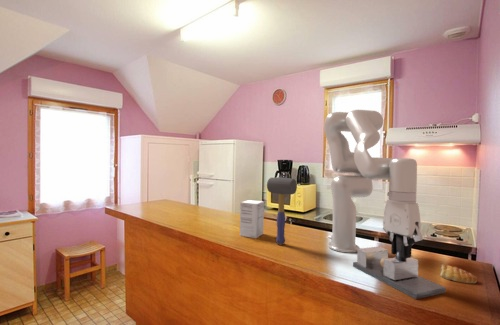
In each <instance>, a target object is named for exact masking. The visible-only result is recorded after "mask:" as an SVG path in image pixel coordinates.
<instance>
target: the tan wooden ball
mask: <svg viewBox="0 0 500 325" xmlns="http://www.w3.org/2000/svg"><path fill="white" fill-rule="evenodd" d="M388 258H389V257H388ZM388 258H383V259H381V261H380V265H381V267H382V268H383V269H384V259H388Z"/></svg>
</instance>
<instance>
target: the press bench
mask: <svg viewBox="0 0 500 325" xmlns="http://www.w3.org/2000/svg"><path fill="white" fill-rule="evenodd" d="M356 253H357V258H356V261H352V267H353V268H355V269H357V270H359V271H361V272H362V273H365V274H366V275H369V276H371V278H374V279H375V280H378V281H380V282H382V283H384V284H386V285H388V286H389V287H392V288H394V289H395V290H397V291H399V292H401V293H402V294H405V295H407V296H409V297H410V298H412V299H414V300H418V299H423V298H427V297H431V296H435V295H436V296H437V295H441V294H446V292H447V291H446V287H445V286H444V285H441V284H439V283H436V282H434V281H432V280H429V279H428V278H424V277H422V276H420V275H418V276H415V277H410V278H404V279H399V280H393V279H391V278H389V277H387V276H385V275H383V270H384V269H383V268H382V267H381V265H380V261H381V259H383V258H389V249H387V248H384V247H383V246H382V247H381V246H371V247H362V248H359V249H358V251H357V252H356Z"/></svg>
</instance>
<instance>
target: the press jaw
mask: <svg viewBox="0 0 500 325" xmlns="http://www.w3.org/2000/svg"><path fill="white" fill-rule="evenodd" d="M402 245H404V238H403V235H399V234H396V254H395V256H394V257H388V259H384V270H383V275H385V276H387V277H389V278H391V279H393V280H399V279H404V278H410V277H415V276H419V259H416V258H413V257H411V258H402Z"/></svg>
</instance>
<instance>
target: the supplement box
mask: <svg viewBox="0 0 500 325" xmlns="http://www.w3.org/2000/svg"><path fill="white" fill-rule="evenodd" d="M239 203H240V206H239V208H240V209H239V236H240V237H246V238H252V239H257V238H259V237H260V236H262V235H263V234H264V220H265V218H264V213H265V209H264V208H265V206H264V205H265V202H264V201H263V200H253V199H252V200H251V199H248V200H244V201H240V202H239Z"/></svg>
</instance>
